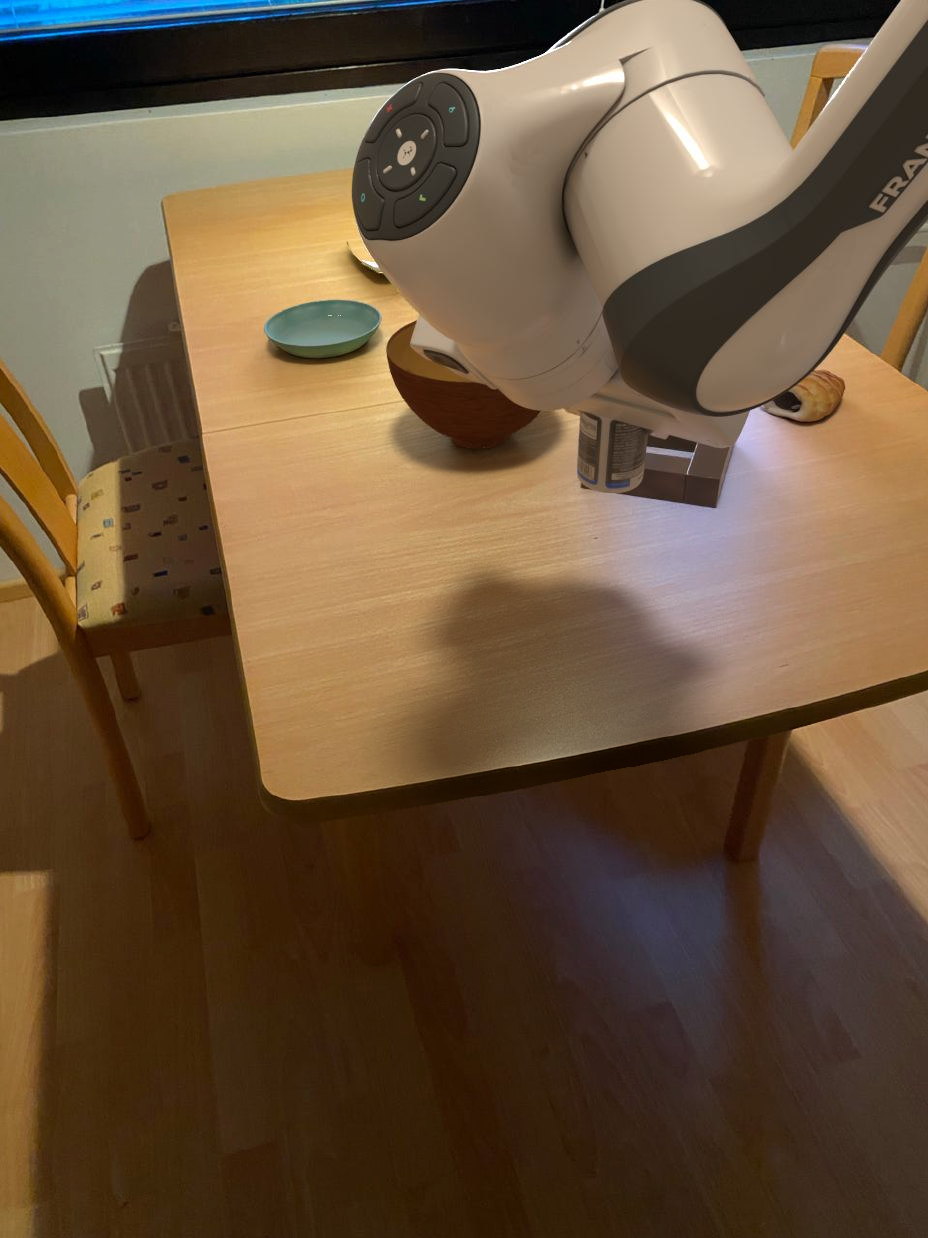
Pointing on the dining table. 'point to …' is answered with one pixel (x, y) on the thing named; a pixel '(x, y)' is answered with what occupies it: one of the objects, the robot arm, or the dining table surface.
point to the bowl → (452, 398)
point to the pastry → (809, 397)
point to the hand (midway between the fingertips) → (620, 415)
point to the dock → (683, 472)
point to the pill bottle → (610, 454)
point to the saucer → (323, 327)
